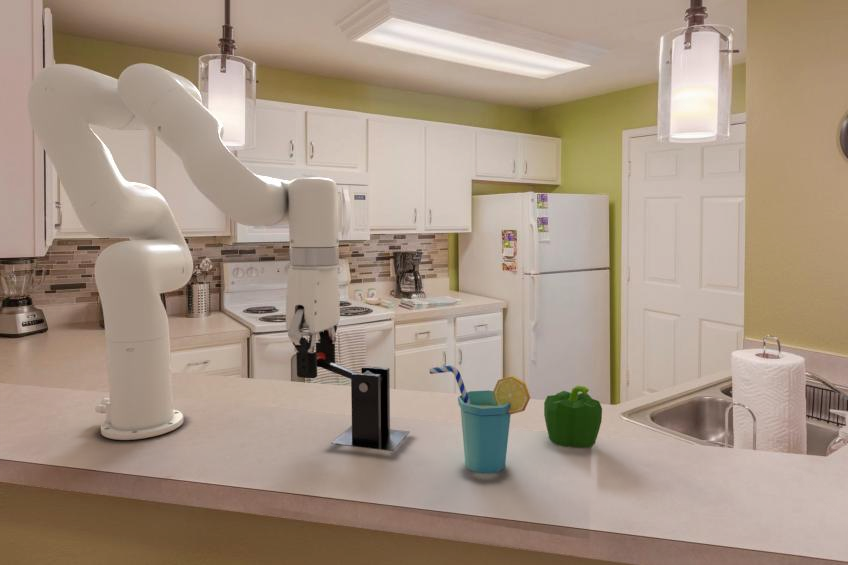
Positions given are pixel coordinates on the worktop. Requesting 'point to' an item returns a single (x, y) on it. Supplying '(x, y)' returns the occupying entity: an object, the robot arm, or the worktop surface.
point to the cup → (487, 420)
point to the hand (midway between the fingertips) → (316, 370)
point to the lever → (337, 367)
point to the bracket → (371, 412)
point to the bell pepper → (573, 418)
